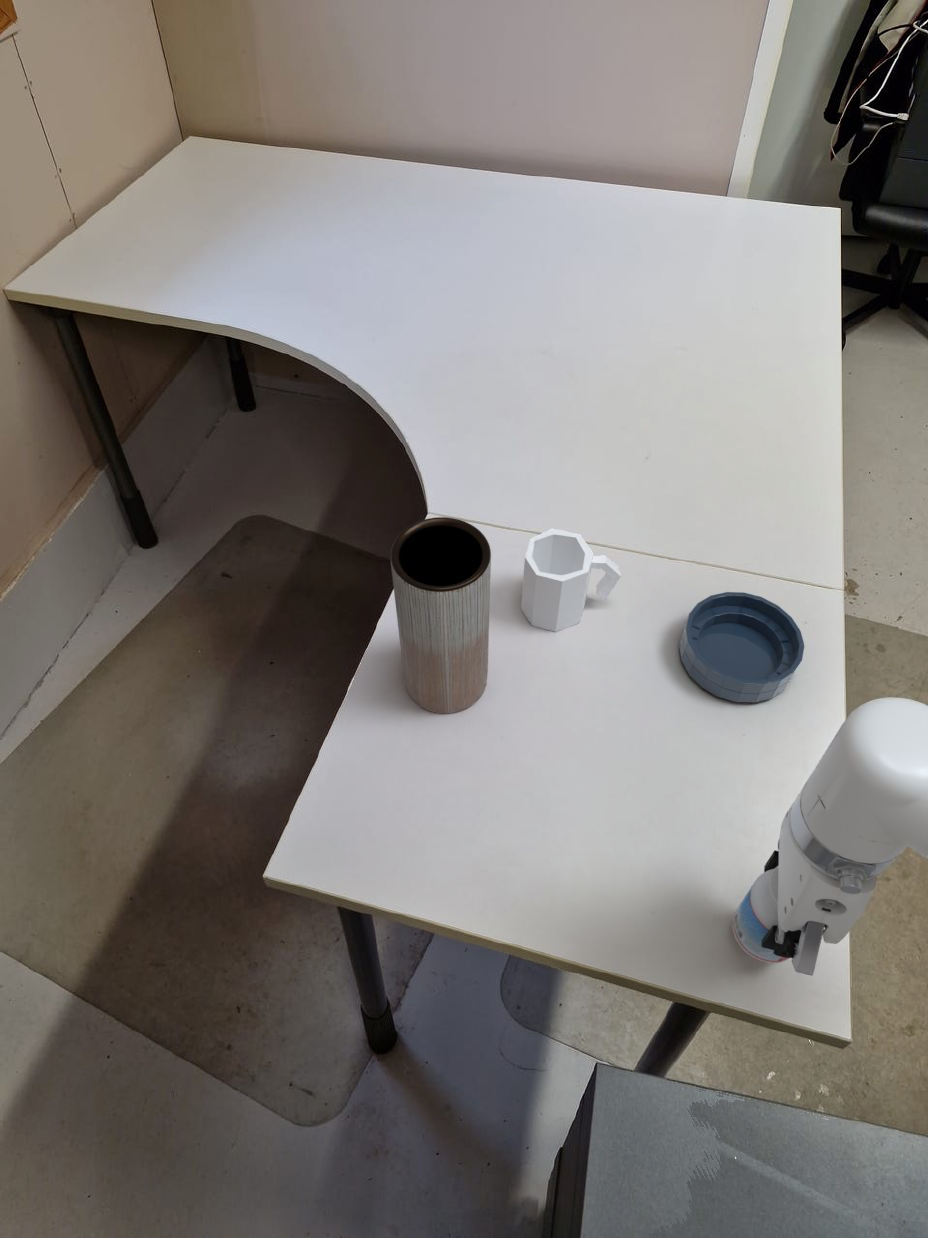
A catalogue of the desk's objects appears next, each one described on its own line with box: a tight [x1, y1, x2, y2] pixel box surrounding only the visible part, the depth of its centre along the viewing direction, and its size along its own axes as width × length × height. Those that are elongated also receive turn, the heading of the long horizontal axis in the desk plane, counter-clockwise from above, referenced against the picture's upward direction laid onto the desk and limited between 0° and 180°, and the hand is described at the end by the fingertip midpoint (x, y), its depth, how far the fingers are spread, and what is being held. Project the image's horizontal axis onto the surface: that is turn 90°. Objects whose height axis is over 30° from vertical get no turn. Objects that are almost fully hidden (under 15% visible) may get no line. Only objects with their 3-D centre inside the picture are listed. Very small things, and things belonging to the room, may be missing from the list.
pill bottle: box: [732, 866, 802, 964], centre depth 74 cm, size 6×6×11 cm
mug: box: [520, 527, 622, 633], centre depth 102 cm, size 12×9×10 cm
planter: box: [389, 516, 492, 714], centre depth 90 cm, size 10×10×23 cm
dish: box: [679, 591, 805, 703], centre depth 99 cm, size 14×14×4 cm
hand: (780, 909), depth 74 cm, fingers closed on pill bottle, 6 cm apart
